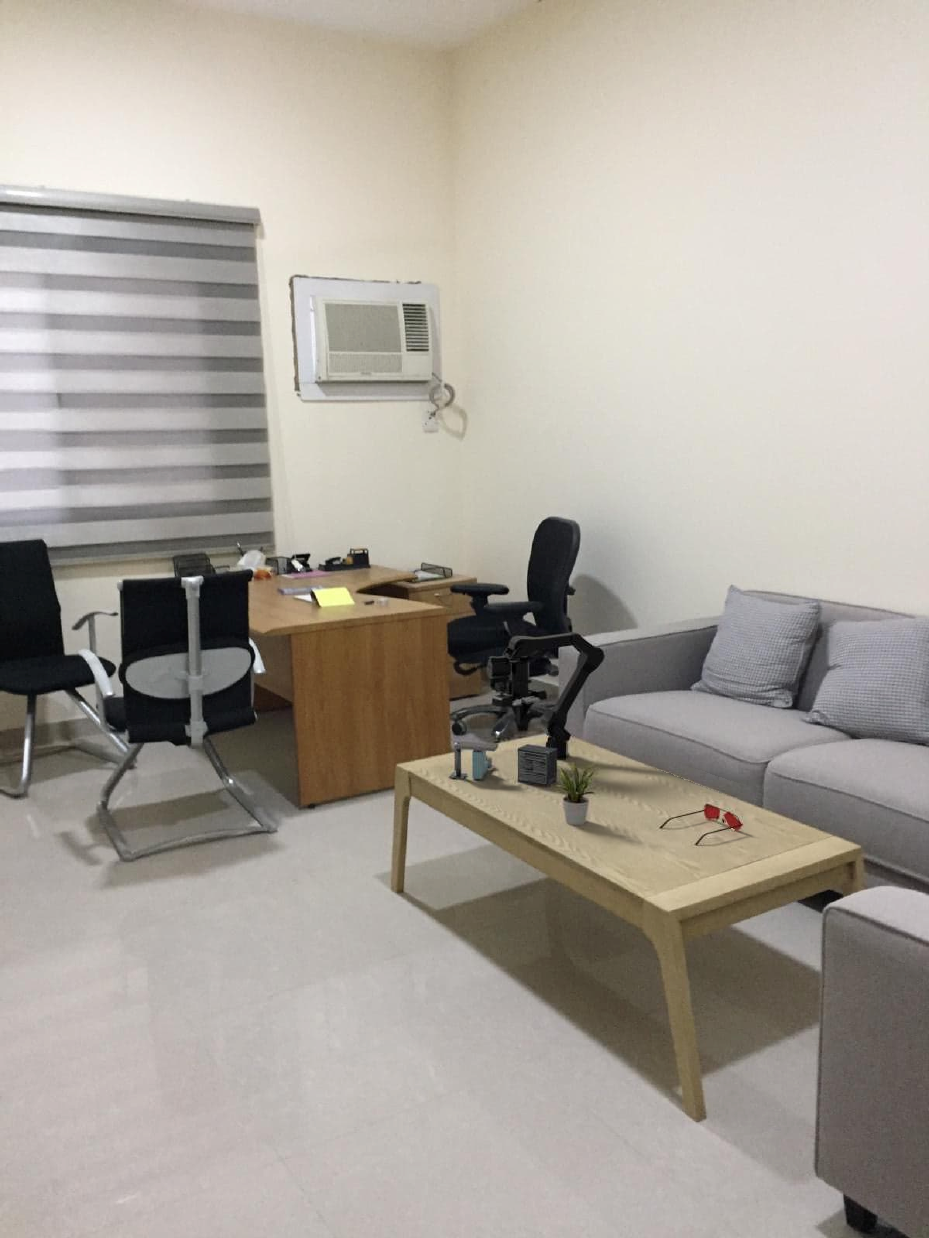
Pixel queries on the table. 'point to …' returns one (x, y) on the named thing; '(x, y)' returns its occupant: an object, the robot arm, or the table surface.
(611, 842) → the table surface
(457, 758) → the keeper
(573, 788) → the house plant
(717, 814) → the glasses
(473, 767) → the link
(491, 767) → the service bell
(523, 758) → the small box
